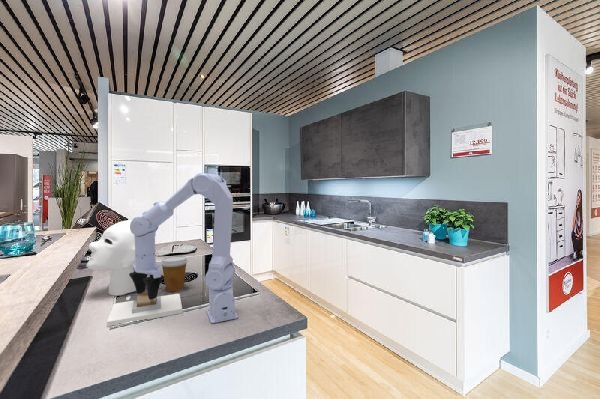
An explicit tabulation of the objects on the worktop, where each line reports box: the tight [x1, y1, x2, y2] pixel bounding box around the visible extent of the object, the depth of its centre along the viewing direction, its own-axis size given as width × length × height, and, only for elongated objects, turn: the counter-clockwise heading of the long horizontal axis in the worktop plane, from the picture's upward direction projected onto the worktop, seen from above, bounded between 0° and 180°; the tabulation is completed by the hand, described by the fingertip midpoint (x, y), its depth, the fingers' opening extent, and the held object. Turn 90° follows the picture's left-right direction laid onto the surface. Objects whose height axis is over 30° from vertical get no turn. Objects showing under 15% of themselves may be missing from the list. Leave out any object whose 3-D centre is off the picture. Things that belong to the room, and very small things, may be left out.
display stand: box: [106, 293, 183, 328], centre depth 93 cm, size 14×20×3 cm
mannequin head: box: [86, 219, 137, 297], centre depth 110 cm, size 18×23×28 cm
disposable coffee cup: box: [160, 255, 188, 293], centre depth 112 cm, size 10×10×12 cm
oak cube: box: [136, 291, 156, 307], centre depth 93 cm, size 4×4×4 cm
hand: (146, 295), depth 93 cm, fingers open, 7 cm apart
